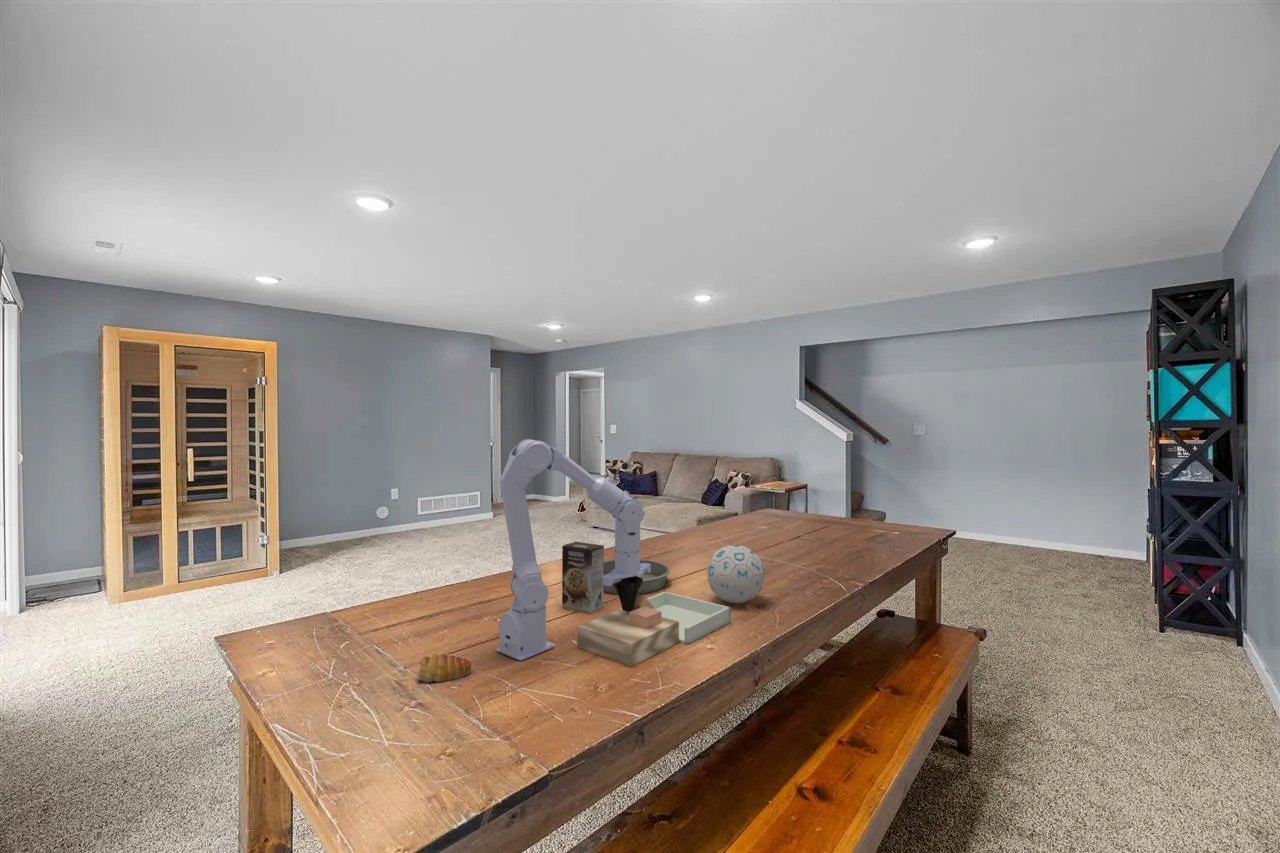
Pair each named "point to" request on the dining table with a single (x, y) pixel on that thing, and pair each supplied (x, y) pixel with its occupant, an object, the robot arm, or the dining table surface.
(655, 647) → the block
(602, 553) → the coffee box
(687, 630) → the tray
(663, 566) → the cake pan
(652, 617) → the tile near
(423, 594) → the dining table surface
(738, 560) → the puzzle ball
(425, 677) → the pastry
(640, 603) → the tile far
